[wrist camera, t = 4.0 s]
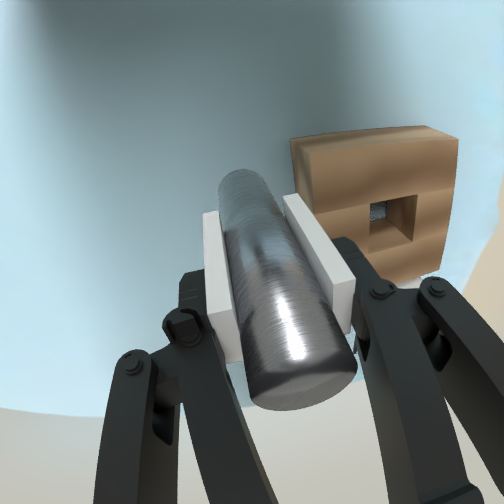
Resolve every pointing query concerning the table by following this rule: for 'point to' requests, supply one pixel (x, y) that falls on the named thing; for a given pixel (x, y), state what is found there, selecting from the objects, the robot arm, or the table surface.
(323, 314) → the peg
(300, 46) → the table surface
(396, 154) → the socket block
